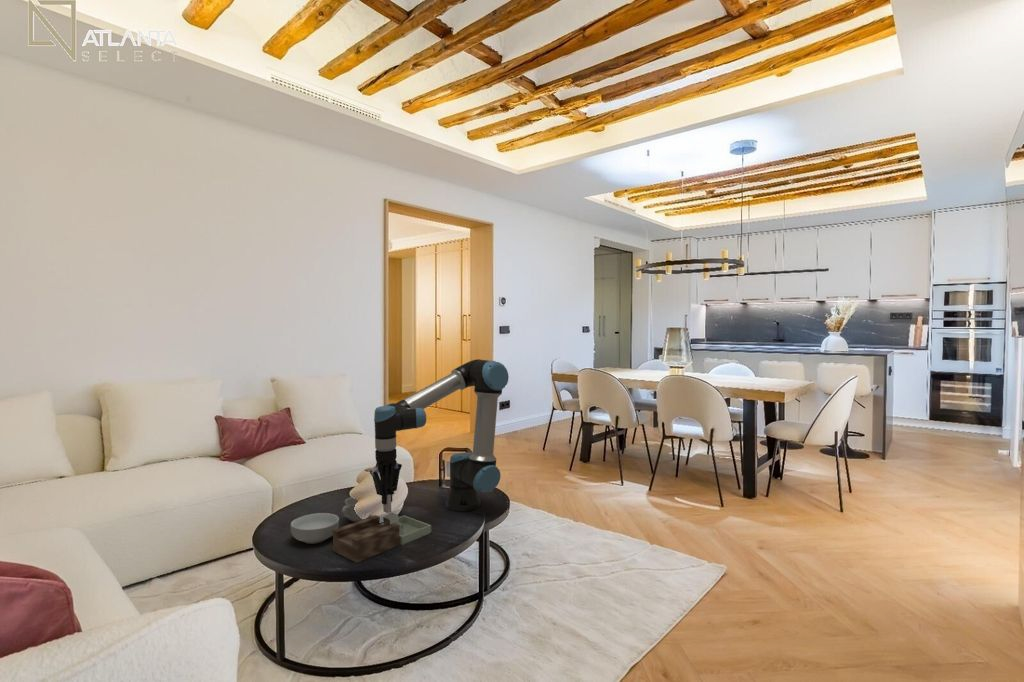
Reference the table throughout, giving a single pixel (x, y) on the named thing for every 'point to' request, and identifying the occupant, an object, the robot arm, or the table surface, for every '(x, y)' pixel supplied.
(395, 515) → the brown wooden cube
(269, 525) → the table surface
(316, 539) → the cereal bowl
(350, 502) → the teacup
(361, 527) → the slot block
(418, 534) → the tray
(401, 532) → the grey cube
